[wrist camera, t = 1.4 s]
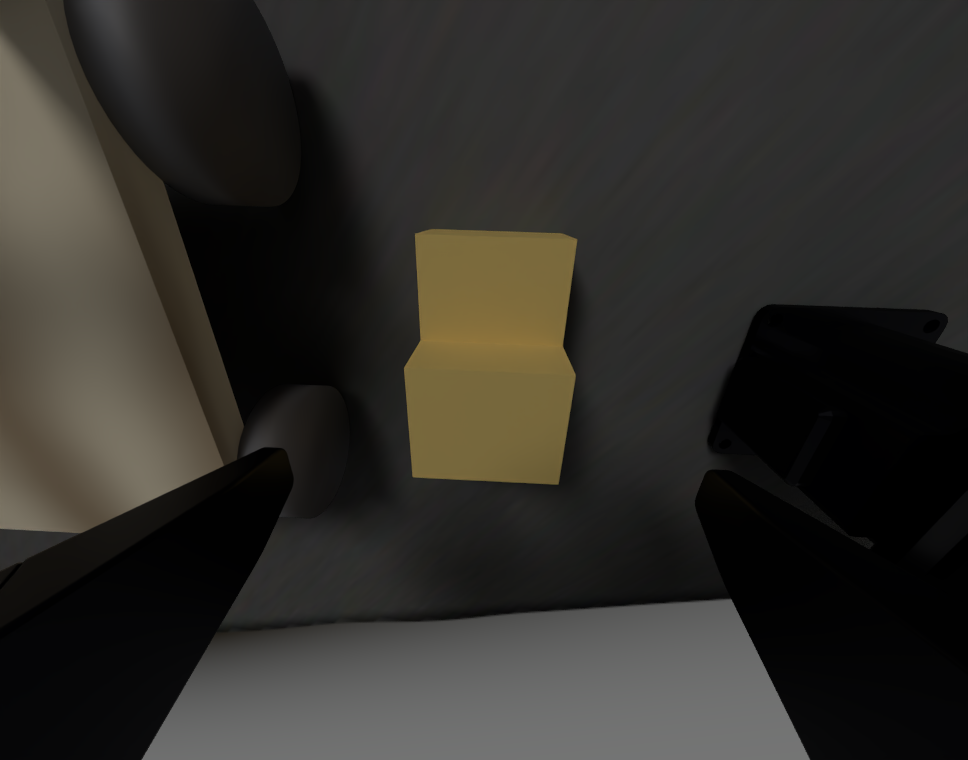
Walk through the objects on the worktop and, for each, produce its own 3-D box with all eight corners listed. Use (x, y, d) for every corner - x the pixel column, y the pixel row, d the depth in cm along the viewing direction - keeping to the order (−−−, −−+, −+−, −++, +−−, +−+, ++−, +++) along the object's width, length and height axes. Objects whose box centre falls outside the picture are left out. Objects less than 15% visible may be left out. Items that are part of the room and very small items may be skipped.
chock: (561, 233, 12) (596, 247, 8) (541, 404, 15) (558, 484, 11) (432, 229, 12) (393, 239, 8) (437, 399, 16) (412, 477, 11)
